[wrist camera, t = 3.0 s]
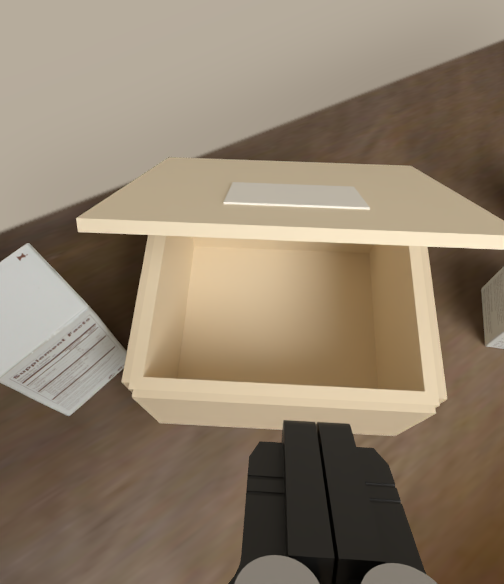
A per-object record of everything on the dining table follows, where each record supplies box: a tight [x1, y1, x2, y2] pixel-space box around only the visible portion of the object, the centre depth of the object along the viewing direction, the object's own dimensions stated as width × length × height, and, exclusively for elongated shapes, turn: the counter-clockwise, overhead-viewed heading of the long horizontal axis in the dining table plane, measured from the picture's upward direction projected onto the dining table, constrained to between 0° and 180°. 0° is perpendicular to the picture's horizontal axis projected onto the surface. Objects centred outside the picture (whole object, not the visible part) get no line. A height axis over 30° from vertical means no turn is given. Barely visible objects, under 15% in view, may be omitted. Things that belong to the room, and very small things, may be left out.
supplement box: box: [0, 243, 127, 416], centre depth 36 cm, size 7×7×13 cm
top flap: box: [76, 157, 504, 250], centre depth 27 cm, size 19×18×1 cm
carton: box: [122, 235, 447, 436], centre depth 37 cm, size 20×18×12 cm
